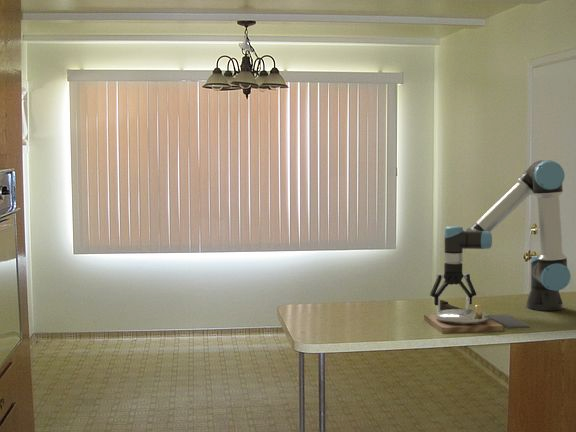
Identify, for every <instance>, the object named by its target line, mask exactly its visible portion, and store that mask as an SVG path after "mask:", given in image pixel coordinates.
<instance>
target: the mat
mask: <svg viewBox="0 0 576 432" xmlns="http://www.w3.org/2000/svg"><path fill="white" fill-rule="evenodd" d="M488 317H489V318H490V319H492V320H494V321H496V322H497V323H499V324H501V325H503V327H505V328H507V329H514V328H515V329H517V328H520V329H521V328H522V329H523V328H530V325H529V324H527V323H525V322H523V321H521V320H519V319H517V318H515V316H514V317H513V316H512V315H510V314H508V313H507V314H505V313H504V314H488Z"/></svg>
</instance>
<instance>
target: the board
mask: <svg viewBox="0 0 576 432" xmlns="http://www.w3.org/2000/svg"><path fill="white" fill-rule="evenodd" d="M423 320H424V321H425V322H426V323H428V324H429V325H431V326H432V327H434V329H436V330H437V331H439V332H440V333H441V334H447V333H448V334H449V333H450V334H451V333H477V332H478V331H485V332H504V326H503V325H501V324H499V323H498V322H496V321H494V320H492V319H491V318H489V317H488V322H486V323H482V324H472V325H462V324H451V323H445V322H441V321H439V320H437V313H436V314H423ZM478 333H479V332H478Z"/></svg>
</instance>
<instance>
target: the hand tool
mask: <svg viewBox="0 0 576 432" xmlns="http://www.w3.org/2000/svg"><path fill="white" fill-rule="evenodd" d="M449 309H463V308H462V307H457V306H454V305H452V304H449V302H448V301H446V300H443V299H440V311H442V310H449Z"/></svg>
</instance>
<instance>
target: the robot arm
mask: <svg viewBox="0 0 576 432" xmlns="http://www.w3.org/2000/svg"><path fill="white" fill-rule="evenodd" d="M565 175H566V174H565V171H564V168H563V167H562V166H561V164H559V163H558V162H556V161H554V160H537V161H536V162H535V161H534V163H532V164H531V165H530V166H529V167H528V168H527V169H526V170H524V172H523V173H522V174H521V175H520V176H519V177H518V179H517V182H516V183H515V184H514V185H513V186H512V187H511V188H510V189H509V190H508V191H507V192H506V193H505V194H504V195H503V196H502V197H501V198H500V199H498V200H497V201H496V202H495V204H493V205H492V206H491V207H490V208H489V209H488V210H487V211H486V212H485V213H484V214H483V215H482V216H481V217H480V218H479V219H478V220H476V221H475V223H474V224H472V225H471V226H470V227H468V228H466V229H465V230H464V229H463V226H460V225H448V226H446V227H445V229H444V262H445V263H444V264H443V265H444V267H443V268H444V269H443V270H444V273H443V274H440V273H437V274H436V279H435V282H434V284H433V286H432V289H431V291H430V294H429V296H431V297H433V300H434V301H433V303H434V305H435V306H436V309H435V310H436V313H437V312H439V311H441V310H440V300H441V298H440V296H441V295H442V294H443V292H444V291H445V289H446V288H447V287H448V286H449V285H452V286H453V285H459V286H460V287H461V289H462V290H463V291H464V293H465V294H466V295H467V296H465V309H468V310H471V308H470V307H471V306H470V305H472V304H473V297H475V296H477V292H476V290H475V287H474V285H473V283H472V280H471V274H470V273H464V274H463V259H464V258H463V255H464V254H463V251H464V249H465V250H467V249H469V250H470V249H472V250H474V249H475V250H478V249H479V250H488V249H489V250H490V249H491V247H493V246H492V245H493V236H492V232H493V231H494V230H495V229H496V228H497V227H498V226H499V225H500V224H501V223H502V222H503V221H504V220H505V219H506V218H507V217H509V215H511V213H513V211H515V210H516V209H517V208H518V207H520V205H521V204H523V202H524V201H526V199H528V198H529V196H530V195H533V196H535V197H536V198H537V209H538V213H537V214H538V227H539V242H540V245H539V246H540V254H539V255H533V256H532V257H531V261H530V269H531V270H530V290H529V294H528V297H527V300H526V307H527V308H528V309H531V310H535V311H545V312H546V311H547V312H548V311H550V312H551V311H552V312H553V311H561V310H563V309H564V304H563V300H562V297H561V294H560V291H561V290H563V289H566V287H567V286H568V285H569V283H570V281H571V278H572V276H571V271H570V269H569V268H568V257H567V256H566V255H565V254H564V253H563V243H562V242H563V241H562V225H561V224H562V222H561V207H560V206H561V205H560V197H561V195H562V194H563V183H564V180H565ZM443 279H444V281H443V283H442V284H441V282H442V280H443ZM462 279H465V282H466V284H467V286H468V287H467V286H466V285H465V284H464V282H463V281H462ZM440 284H441V286H440ZM468 288H469V289H468Z"/></svg>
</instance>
